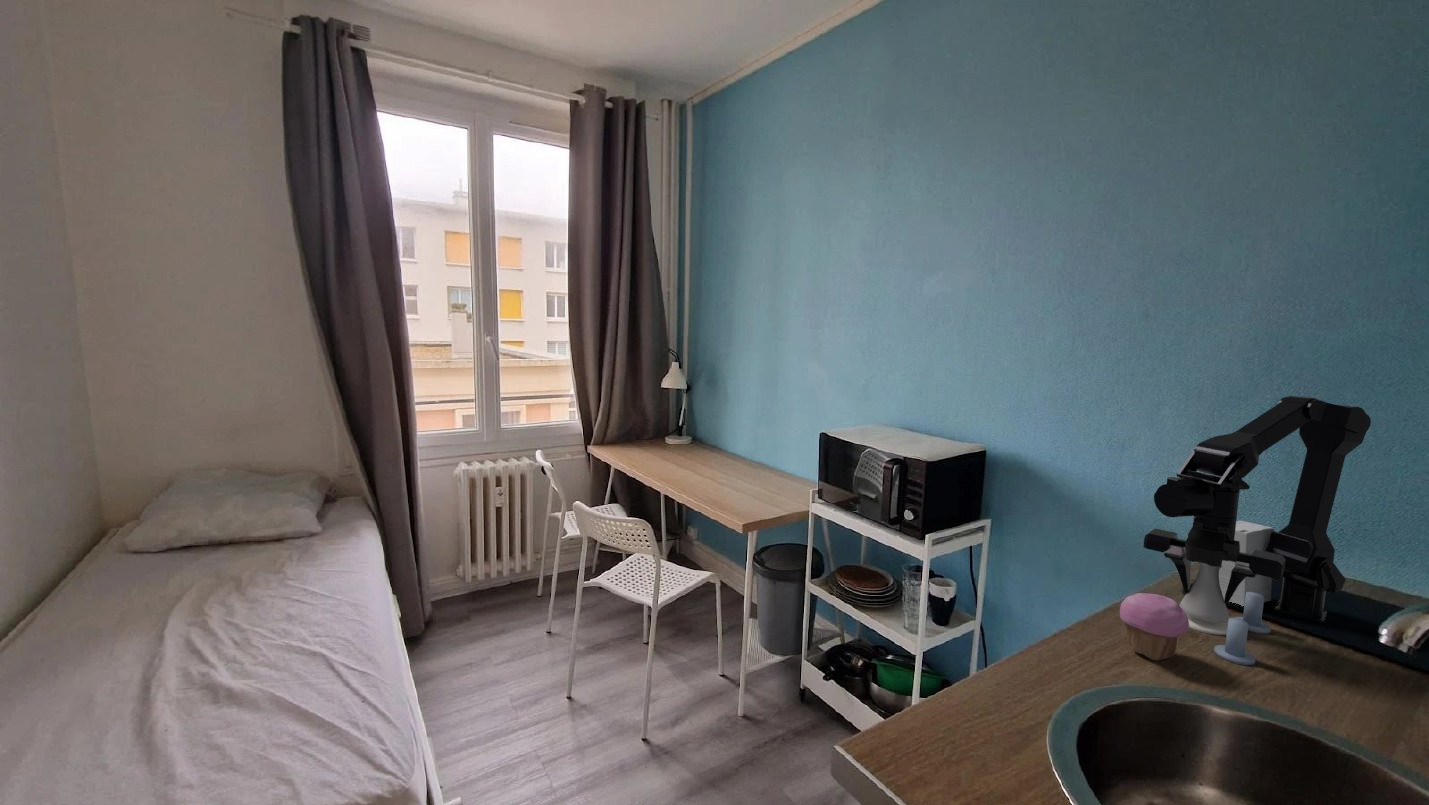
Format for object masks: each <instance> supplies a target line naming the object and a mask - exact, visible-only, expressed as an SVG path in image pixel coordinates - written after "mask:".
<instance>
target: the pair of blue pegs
mask: <svg viewBox="0 0 1429 805" xmlns="http://www.w3.org/2000/svg"><path fill="white" fill-rule="evenodd" d="M1264 604H1265V602H1264V596H1263V595H1261V594H1258V593H1255V592H1246V597H1245V605H1244V607H1243V613H1242V614H1243V615H1242V616H1234V617H1230V618H1229V620H1228V628H1227V635H1225V636H1226V638H1225V644H1217V645H1215V646H1214V649H1213V653H1214V654H1215V655H1216V656H1218V657H1219V658H1221V659H1222V660H1225V661H1227V662H1230V663H1233V664H1236V665H1241V666H1253V665H1255V664H1256V657H1255V656H1254V654H1252V653H1250V652H1248V651H1246V648H1247V640H1248V632H1250V633H1255V634H1259V635H1260V634H1262V635H1266V634H1267V635H1268V634H1270V633H1271V629H1272V627H1271V626H1269V625H1268V624H1267V623H1265V622H1263V621H1262V617H1263V610H1264Z"/></svg>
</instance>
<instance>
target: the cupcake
mask: <svg viewBox="0 0 1429 805" xmlns="http://www.w3.org/2000/svg"><path fill="white" fill-rule="evenodd" d="M1119 617H1120V619H1121V621H1122V622H1124V630H1125V635H1126V640H1127V642H1128V644H1129V646H1130V647H1131V649H1132V651H1134V653H1137V654H1141V655H1143V656H1145V657H1147V658H1148V659H1150V660H1152V661H1157V662H1159V661H1162V660H1167V659H1171V658H1172V657H1173V656H1175V654H1176V651H1177V644H1178V639H1179V637H1181V636H1182V635H1184V634H1185V633H1186V632H1187V631H1189V629H1190V628H1189V621H1188V617H1187V615H1186V614H1185V612H1184V611H1183V609H1182V608H1181V607H1180V606H1179V604H1178V602H1177V601H1175V600H1174V599H1172V598H1170V597H1167V596H1165V595H1162V594H1156V593H1144V592H1137V593H1135V594H1131V595H1128V596H1127V597H1126V598H1124V600H1123V601H1122V602H1121V604H1120V606H1119Z"/></svg>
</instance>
